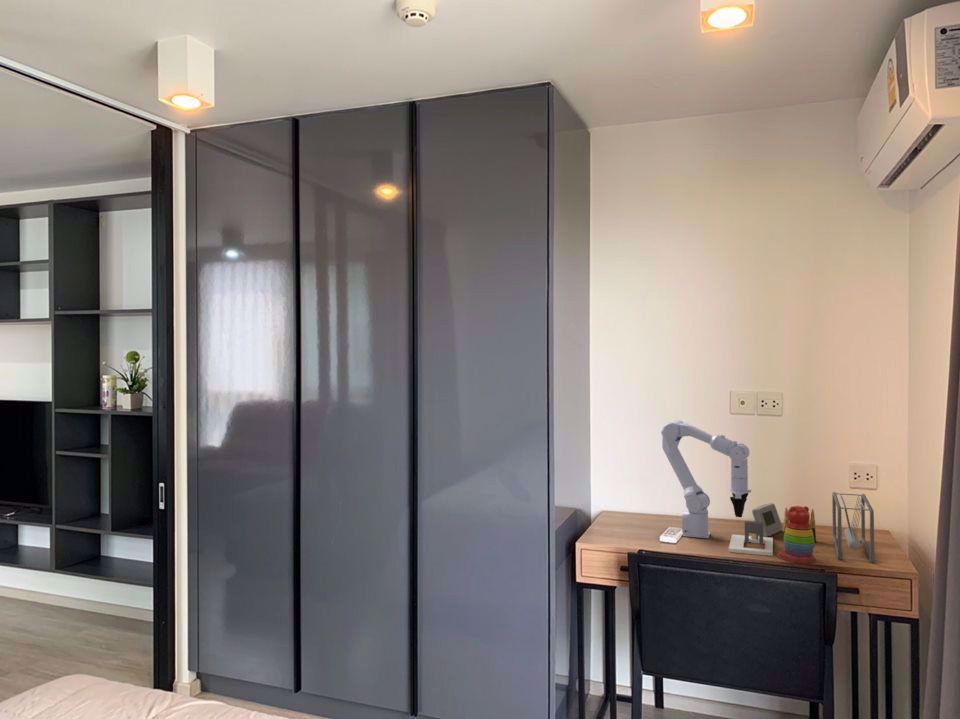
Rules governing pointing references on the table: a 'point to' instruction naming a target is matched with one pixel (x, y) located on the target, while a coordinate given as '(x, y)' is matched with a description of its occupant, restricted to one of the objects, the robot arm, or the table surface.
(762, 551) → the white slotted board
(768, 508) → the digital clock
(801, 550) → the stacking bear
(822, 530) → the table surface
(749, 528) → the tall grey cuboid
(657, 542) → the table surface
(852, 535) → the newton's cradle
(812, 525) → the ammunition clip
